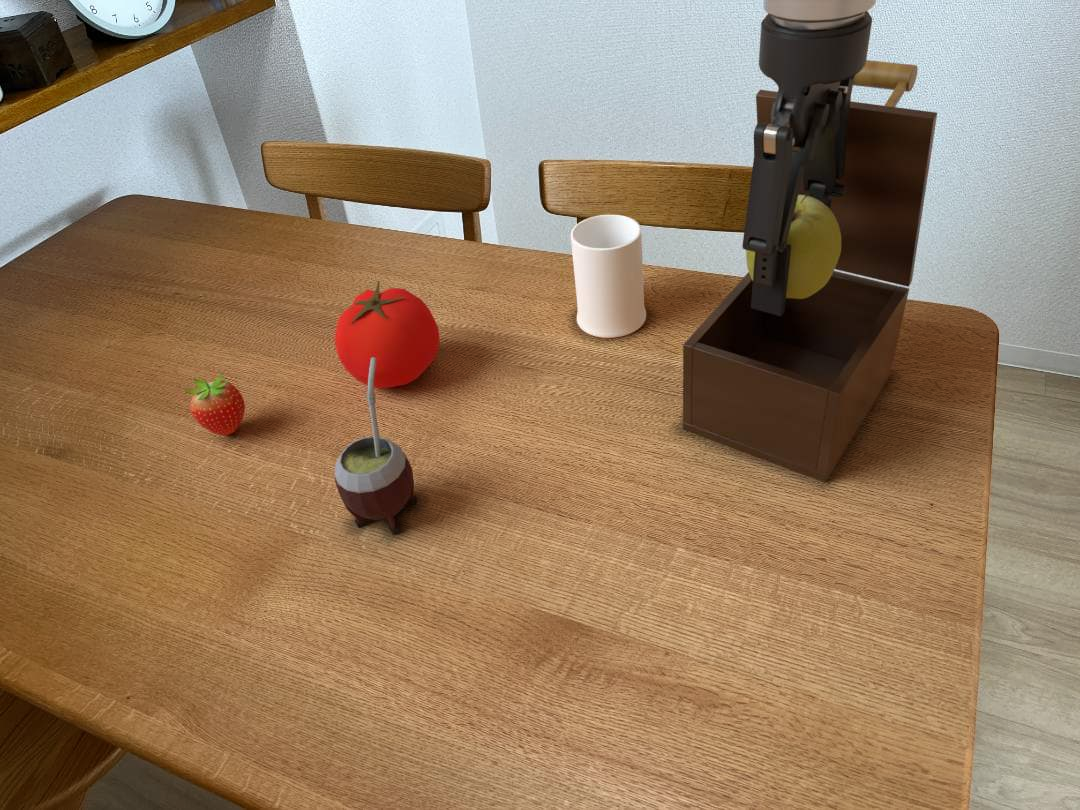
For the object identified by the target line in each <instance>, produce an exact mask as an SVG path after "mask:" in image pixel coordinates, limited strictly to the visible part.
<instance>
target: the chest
mask: <svg viewBox="0 0 1080 810" xmlns="http://www.w3.org/2000/svg"><path fill="white" fill-rule="evenodd" d="M752 287H753V280H752V279H751V276H750V274H749V271H748V272H747V273H746V274H745V275H744V277H743V278H742V279H741V280H740V281H739V282H738V283H737V284H736V285H735V286H734V287H733V289H731V291H730V292H729V293H728V294H727V295H726V296H725V298H723V300H721V302H720V303H719V304H718V305H717V306H716V308H715V309H714V310H713V311H712V312H711V313H710V314H709V315H708V317H707V318H706V319H705V320H704V321H703V322H702V323H701V324H700V325H699V327H697V329H696V330H695V331H694V332H693V333H692V334H691V336H689V337H688V339H687V340H686V341H685V342H684V343H683V345H682V430H684V431H686V432H689V433H692V434H695V435H697V436H700V437H703V438H704V439H708V440H710V441H713V442H715V443H718V444H720V445H724V446H726V447H729V448H732V449H733V450H734V449H735V450H737V451H740V452H742V453H745V454H747V455H750V456H753V457H756V458H758V459H761V460H764V461H766V462H769V463H770V464H771V463H772V464H774V465H777V466H780V467H782V468H785V469H788V470H791V471H793V472H795V473H798V474H801V475H804V476H806V477H809V478H812V479H814V480H817V481H819V482H822V483H826V482H827V481H828V479H829V477H830V475H831V473H832V472H833V471H834V469H835V468H836V465H837V464H838V463H839V460H840V459H841V457H842V456H843V454H844V452H845V450H846V449H847V448H848V445H849V444H850V443H851V441H852V439H853V437H854V436H855V434H856V432H857V431H858V429H859V428H860V426H861V424H862V423H863V421H864V419H865V418H866V416H867V414H868V412H869V411H870V409H871V408H872V406H873V404H874V403H875V401H876V400H877V398H878V396H879V395H880V393H881V391H882V389H883V388H884V387H885V384H886V383H887V382H888V380H889V378H890V376H891V373H892V369H893V364H894V359H895V356H896V350H897V346H898V342H899V337H900V333H901V329H902V324H903V319H904V315H905V311H906V306H907V301H908V297H909V293H910V287H906V286H902V285H899V286H898V285H897V284H893V283H889V282H884V281H880V280H876V279H872V278H868V277H863V276H859V275H855V274H851V273H847V272H842V271H838V270H834V271H833V274H832V276H831V277H830V279H829V281H828V282H827V284H826V285H825V286H824V287H823V288H821V289H820V290H819V291H817V292H816V293H814V294H813V295H811V296H809V297H807V298H804V299H795V298H786V301H785V310H784V313H783V314H782V315H781V316H778V315H774V314H770V313H767V312H763V311H760V310H756V309H752V308H751V301H752Z"/></svg>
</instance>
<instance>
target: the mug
mask: <svg viewBox="0 0 1080 810" xmlns="http://www.w3.org/2000/svg"><path fill="white" fill-rule="evenodd" d="M642 234H643V233H642V227H641V225H640V223H639V222H638V221H637V220H635V219H634V218H632V217H629V216H626V215H622V214H600V215H594V216H590V217H588V218H586V219H583V220H581V221H580V222H578V223H577V224H576V225H575V226H573V228H572V229H571V231H570V243H571V255H572V265H573V275H574V284H575V295H576V304H577V306H576V307H577V314H576V324H577V325H578V327H579V328H580V329H581V330H582V331H583V332H584V333H586V334H588V335H589V336H590V335H591V336H593V337H597V338H603V339H613V338H614V339H615V338H621V337H625V336H629V335H630V334H632V333H634V332H636V331H638V330H639V329H640V328H641V327H642V326H643V325H644V323H645V322H646V319H647V310H646V307H645V295H644V269H643V268H644V264H643V238H642V237H643V236H642Z"/></svg>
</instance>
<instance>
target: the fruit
mask: <svg viewBox="0 0 1080 810" xmlns="http://www.w3.org/2000/svg"><path fill="white" fill-rule="evenodd" d="M193 380H194V383H195V385H196V387H198V388H190V389H186V388H184V389H182V390H183V391H185V392H186V393H188V394H193V396H192V397H191V400H190V405H189V408H190V413H191V415H192V417H193V418H194V420H195V421H196V422H197V423H198V424H199V425H200V426H201V427H203V428H204V429H205V430H207V431H209V432H211V433H212V434H216V435H219V436H228V435H231V434H233V433H236V431H237V430H238V429H239V428H240V425H241V424H242V422H243V419H244V416H245V411H246V405H245V404H246V403H245V399H244V398H243V394H241V391H240V390H239V389H238V388H237V387H236V386H235V385H234V384H232V383H230V382H229V381H230V379H228V380H223V373H222V374H221V375H219V376H218V377H217V378H216V379H215V380H212V381H209V382H207V380H206V378H203V380H200V379H197V378H195V377H194V378H193Z"/></svg>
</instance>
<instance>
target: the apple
mask: <svg viewBox="0 0 1080 810" xmlns="http://www.w3.org/2000/svg"><path fill="white" fill-rule="evenodd" d="M812 192H813V191H810V192H809V193H808V194H807V195H798V198H797V202H796V206H795V211H794V215H793V219H792V223H791V227H790V231H789V235H788V239H787V244H789V245H791V253H790V263H789V272H788V282H787V291H786V298H795V299H804V298H807V297H809V296H811V295H813V294H814V293H816V292H817V291H819V290H820V289H821V288H823V287H824V286H825V285H826V284H827V282H828V281H829V279H830V277H831V276H832V274H833V271H835V270H836V269H835V267H836V264H837V262H838V259H839V256H840V253H841V233H840V228H839V225H838V223H837V220H836V218H835V216H834V214H833V213H832V211H831V210H830V209H829V208H828V207H827V206H826V205H825V204H824V203H823V202H821V201H819V200H817V199H815V198H813V197H810V196H808V195H809V194H811V193H812ZM745 259H746V267H747V270H748V272H749V274H750V276H751V279H752V280H753V274H754V260H755V252H753V251H749V250H745Z"/></svg>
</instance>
